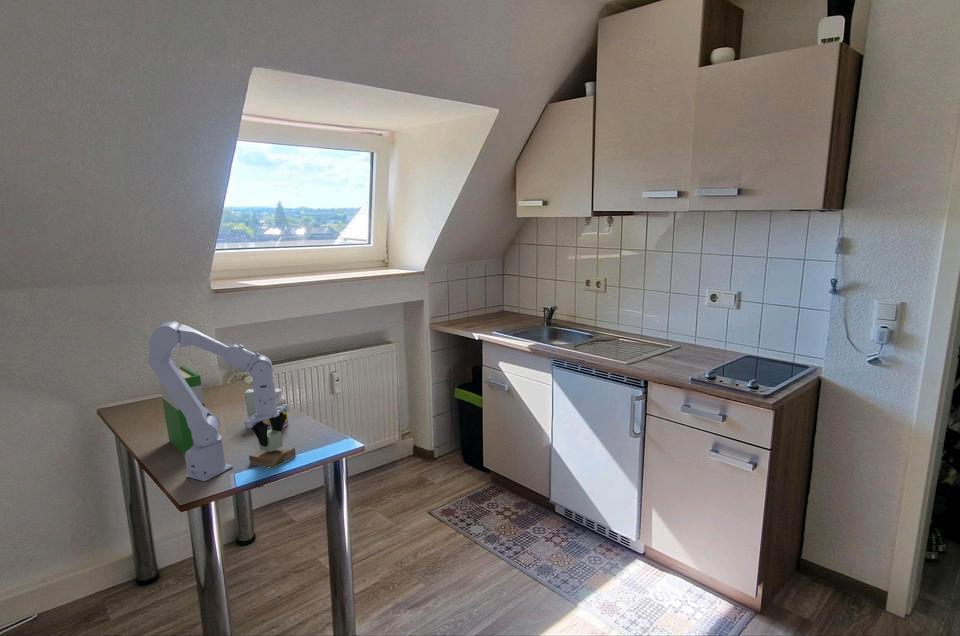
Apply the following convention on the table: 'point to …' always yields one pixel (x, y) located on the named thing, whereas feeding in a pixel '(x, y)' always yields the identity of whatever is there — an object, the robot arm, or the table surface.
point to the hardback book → (180, 412)
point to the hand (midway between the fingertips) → (270, 442)
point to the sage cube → (272, 441)
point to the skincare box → (251, 403)
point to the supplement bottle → (280, 401)
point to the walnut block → (272, 456)
